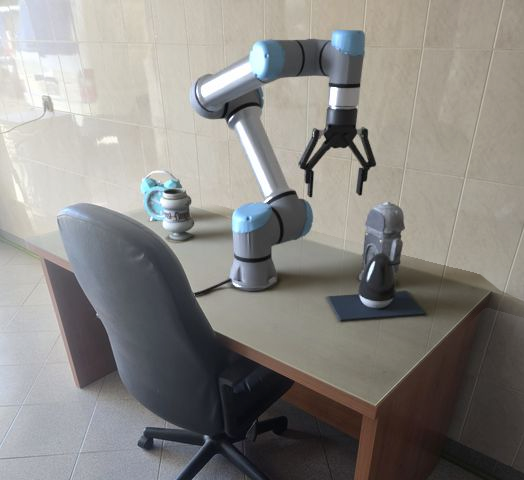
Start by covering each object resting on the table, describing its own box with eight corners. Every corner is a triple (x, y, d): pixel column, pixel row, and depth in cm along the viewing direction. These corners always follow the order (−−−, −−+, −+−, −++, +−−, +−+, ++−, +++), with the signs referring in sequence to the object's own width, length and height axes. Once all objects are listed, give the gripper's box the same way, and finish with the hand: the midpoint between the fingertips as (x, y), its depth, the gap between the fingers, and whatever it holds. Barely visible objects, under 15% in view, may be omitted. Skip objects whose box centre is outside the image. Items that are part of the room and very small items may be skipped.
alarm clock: (141, 222, 199) (133, 173, 188) (149, 215, 207) (142, 167, 196) (180, 223, 196) (175, 174, 185) (187, 216, 204) (182, 168, 193)
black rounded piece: (386, 316, 127) (394, 264, 119) (351, 307, 132) (356, 256, 123) (399, 301, 134) (407, 251, 126) (365, 293, 139) (370, 244, 131)
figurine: (381, 293, 140) (392, 210, 126) (352, 276, 151) (360, 197, 137) (405, 286, 144) (420, 205, 130) (376, 270, 154) (386, 193, 140)
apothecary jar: (159, 236, 184) (152, 189, 174) (186, 230, 190) (181, 184, 180) (173, 245, 175) (167, 197, 166) (201, 238, 181) (197, 191, 171)
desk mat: (340, 321, 126) (340, 319, 126) (327, 298, 138) (328, 296, 138) (425, 315, 129) (425, 313, 128) (405, 292, 140) (406, 290, 140)
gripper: (386, 103, 118) (374, 189, 130) (289, 105, 115) (286, 192, 127) (397, 108, 112) (383, 197, 124) (295, 109, 109) (291, 201, 121)
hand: (334, 195), depth 126 cm, fingers open, 13 cm apart
